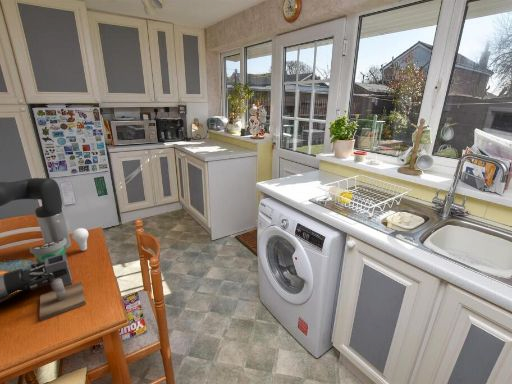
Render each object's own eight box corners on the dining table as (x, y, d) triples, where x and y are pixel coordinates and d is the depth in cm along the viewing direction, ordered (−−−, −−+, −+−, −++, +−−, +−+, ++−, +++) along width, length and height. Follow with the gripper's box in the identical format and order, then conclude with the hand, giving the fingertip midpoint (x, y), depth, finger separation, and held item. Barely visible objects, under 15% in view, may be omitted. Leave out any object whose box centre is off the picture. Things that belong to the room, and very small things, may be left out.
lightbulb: (84, 254, 117) (79, 232, 113) (72, 253, 118) (67, 231, 114) (95, 247, 122) (90, 226, 119) (83, 246, 123) (78, 225, 120)
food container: (36, 275, 103) (29, 253, 100) (35, 268, 108) (28, 246, 104) (73, 263, 111) (67, 242, 108) (71, 256, 115) (65, 236, 112)
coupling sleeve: (52, 281, 100) (45, 258, 96) (71, 275, 103) (64, 253, 100) (52, 290, 95) (44, 266, 92) (72, 283, 98) (65, 260, 95)
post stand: (41, 298, 91) (34, 278, 88) (82, 285, 98) (77, 265, 95) (40, 321, 82) (33, 299, 79) (85, 304, 89) (80, 283, 86)
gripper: (-1, 286, 82) (64, 267, 92) (5, 264, 93) (62, 249, 103) (6, 306, 85) (69, 285, 94) (11, 282, 96) (67, 265, 105)
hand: (65, 266), depth 98 cm, fingers closed on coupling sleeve, 6 cm apart
